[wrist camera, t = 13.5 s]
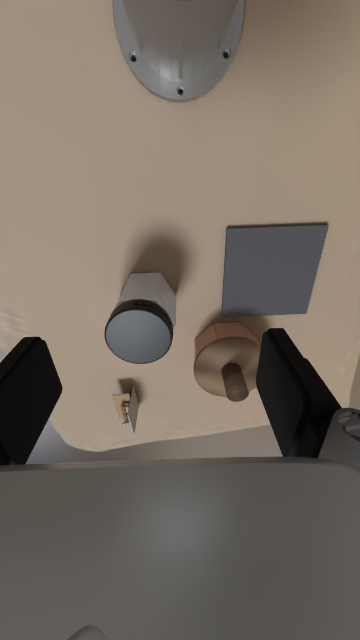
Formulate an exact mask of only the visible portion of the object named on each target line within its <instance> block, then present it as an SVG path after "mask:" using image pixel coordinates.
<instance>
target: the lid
mask: <svg viewBox="0 0 360 640" xmlns="http://www.w3.org/2000/svg"><path fill="white" fill-rule="evenodd" d="M260 350H261V346H260V345H259V344H257V343H256V342H255V341H253V340H251V339H248V338H245V337H239V336H230V337H224V338H220V339H217V340H215V341H212V342H211V343H209V344H207V345H206V346H205V347H204V348H203V349H202V350H201V351H200V352H199V353H198V355H197V356H196V359H195V362H194V376H195V379H196V381H197V383H198V385H199V386H200V387H201V388H202V389H204V390H205V391H206V392H208V393H210V394H213V395H217V396H223V397H227V398H228V399H229V400H231V401H234V402H238V401H242V400H244V399H246V398H247V396H248V394H249V391H251V390H253V389H254V388H256V387H257V386H256V374H257V368H258V362H259V356H260Z"/></svg>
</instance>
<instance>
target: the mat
mask: <svg viewBox="0 0 360 640" xmlns="http://www.w3.org/2000/svg"><path fill="white" fill-rule="evenodd" d="M328 226H329V225H327V224H321V225H293V226H266V227H239V228H226V245H225V262H224V279H223V296H222V313H221V315H222V317H229V316H257V315H284V314H306V313H307V309H308V305H309V301H310V297H311V293H312V289H313V285H314V281H315V277H316V273H317V269H318V265H319V261H320V257H321V253H322V250H323V246H324V242H325V238H326V234H327V230H328Z"/></svg>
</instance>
